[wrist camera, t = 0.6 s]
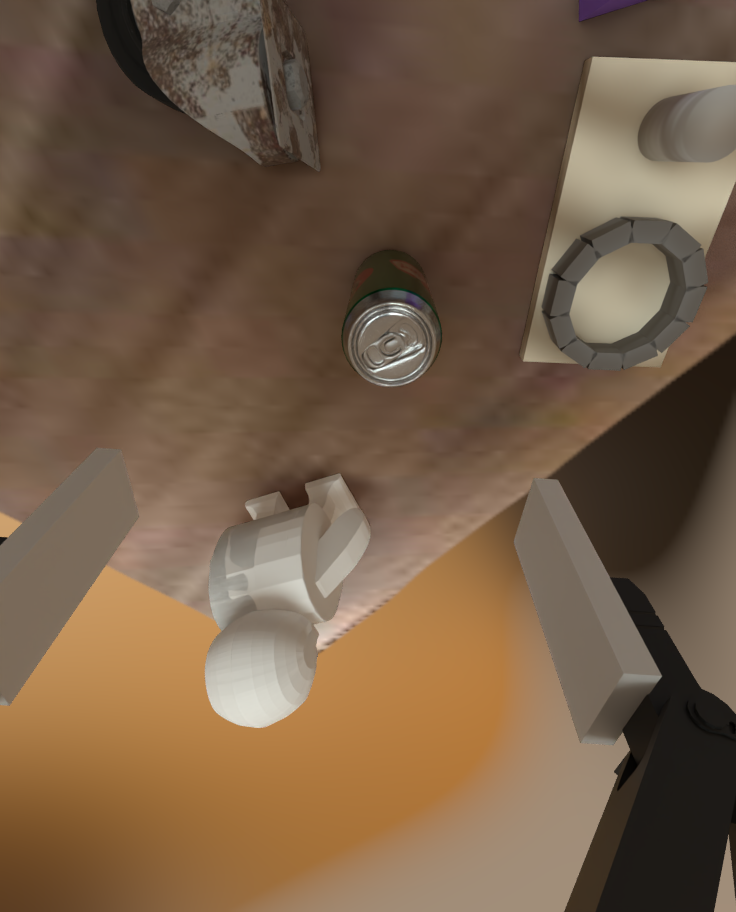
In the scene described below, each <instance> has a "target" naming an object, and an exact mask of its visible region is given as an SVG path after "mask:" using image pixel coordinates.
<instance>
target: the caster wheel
mask: <svg viewBox="0 0 736 912" xmlns="http://www.w3.org/2000/svg"><path fill="white" fill-rule="evenodd" d="M96 3H97V11H98V15H99V19H100V23H101V27H102V30H103V34H104V37H105V39H106V41H107V44H108V46H109V48H110V51H111V53H112V55H113V56H114V58H115V60H116V62H117V63H118V65H119V67H120V68H121V69H122V71H123V72H124V73H125V75H126V76H127V77H128V78H129V79H130V80H131V81H132V82H133V83H134V84H135V85H136V86H137V87H138V88H140V89H141V90H143V91H144V92H145V93H147V94H148V95H150V96H152V97H153V98H155V99H157V100H158V101H160V102H162V103H164V104H166V105H167V106H169V107H171V108H173V109H175V110H177V111H180V112H182V113H185V114H187V115H189V116H190V117H191V118H193V119H194V120H196V121H197V122H198V123H200V124H201V125H203V126H204V127H205V128H207V129H209V130H210V131H212V132H213V133H215V134H216V135H218V136H220V137H221V138H223V139H224V140H226V141H228V142H229V143H231V144H233V145H234V146H236V147H237V148H239V149H240V150H242V151H243V152H245V153H246V154H247V155H249V156H250V157H251V158H252V159H254V160H255V161H256V162H257V163H258V164H260V165H261V166H264V167H267V166H273V165H279V164H285V163H291V162H297V161H298V160H299V159H300V160H301V161H303V162H305V163H306V164H308V165H309V166H311V167H312V168H314V169H315V170H317V171H318V172H319V171H320V158H319V148H318V139H317V130H316V120H315V111H314V101H313V92H312V82H311V73H310V64H309V54H308V45H307V38H306V34H305V32H304V30H303V29H302V27H301V26H300V24H299V23H298V22H297V20H296V19H295V17H294V16H293V14H292V13H291V11H290V10H289V9H288V7H287V6H286V4H285V3H284V1H283V0H96Z"/></svg>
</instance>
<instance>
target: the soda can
mask: <svg viewBox="0 0 736 912" xmlns="http://www.w3.org/2000/svg"><path fill="white" fill-rule="evenodd" d="M341 338H342V347H343V351H344V354H345V356H346V359H347V361H348V362H349V364H350V365H351V367H352V368H353V369H354V370H355V371H356V372H357V373H358V374H359V375H360V376H362V377H363V378H364V379H366V380H367V381H369V382H371V383H373V384H375V385H378V386H382V387H400V386H404V385H407V384H410V383H412V382H414V381H415V380H417V379H418V378H420V377H421V376H422V375H423V374H424V373H425V372H426V371H427V370H428V369H429V368H430V367H431V366H432V364H433V363H434V361H435V360H436V358H437V356H438V353H439V351H440V347H441V343H442V330H441V324H440V321H439V317H438V314H437V311H436V308H435V305H434V302H433V299H432V296H431V293H430V290H429V287H428V284H427V280H426V277H425V274H424V272H423V270H422V268H421V266H420V265H419V263H418V262H417V261H416V260H415V259H414V258H412V257H411V256H410V255H408V254H406V253H404V252H401V251H396V250H385V251H380V252H378V253H375V254H373V255H372V256H370V257H369V258H367V259H366V260H365V261H364V262H363V263H362V265H361V266H360V267H359V269H358V271H357V273H356V275H355V279H354V283H353V287H352V291H351V295H350V299H349V303H348V307H347V311H346V315H345V319H344V323H343V327H342V335H341Z"/></svg>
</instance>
